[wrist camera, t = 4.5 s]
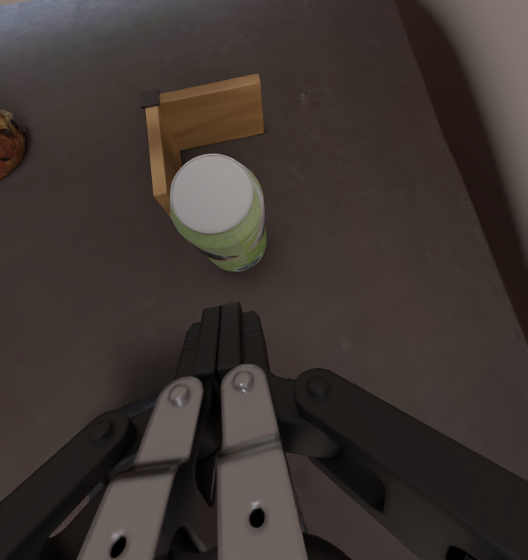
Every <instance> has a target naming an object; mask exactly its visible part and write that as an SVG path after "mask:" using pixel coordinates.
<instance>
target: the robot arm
mask: <svg viewBox="0 0 528 560" xmlns="http://www.w3.org/2000/svg"><path fill="white" fill-rule="evenodd" d="M285 452H287V453H293V454H299V455H305V456H307V457H308V458H309V460H310V461H311V462H312V463H313V464H314V465H315V466H317V467H318V468H319V469H320V470H321V471H322V472H323V473H324V474H325V475H327V476H328V477H329V478H330V479H331V480H332V481H333V482H334V483H336V484H337V485H338V486H339V487H340V488H341V489H342V490H343V491H345V492H346V493H347V494H348V495H349V496H350V497H351V498H352V499H353V500H355V501H356V502H357V503H358V504H359V505H360V506H361V507H362V508H364V509H365V510H366V511H367V512H368V513H369V514H370V515H371V516H373V517H374V518H375V519H376V520H377V521H378V522H379V523H380V524H381V525H383V526H384V527H385V528H386V529H387V530H388V531H389V532H390V533H392V534H393V535H394V536H395V537H396V538H397V539H398V540H399V541H401V542H402V543H403V544H404V545H405V546H406V547H407V548H408V549H409V550H411V551H412V552H413V553H414V554H415V555H416V556H417V557H418V558H420V559H421V560H528V481H526V480H524V479H522V478H521V477H519V476H517V475H515V474H513V473H512V472H510V471H508V470H506V469H505V468H503V467H501V466H499V465H497V464H496V463H494V462H492V461H490V460H488V459H487V458H485V457H483V456H481V455H480V454H478V453H476V452H474V451H472V450H471V449H469V448H467V447H465V446H464V445H462V444H460V443H458V442H456V441H455V440H453V439H451V438H449V437H447V436H446V435H444V434H442V433H440V432H439V431H437V430H435V429H433V428H431V427H430V426H428V425H426V424H424V423H422V422H421V421H419V420H417V419H415V418H414V417H412V416H410V415H408V414H406V413H405V412H403V411H401V410H399V409H397V408H396V407H394V406H392V405H390V404H389V403H387V402H385V401H383V400H381V399H380V398H378V397H376V396H374V395H373V394H371V393H369V392H367V391H365V390H364V389H362V388H360V387H358V386H356V385H355V384H353V383H351V382H349V381H348V380H346V379H344V378H342V377H340V376H339V375H337V374H335V373H333V372H331V371H329V370H326V369H321V368H316V369H310V370H307V371H305V372H303V373H302V374H300V375H299V376H298V377H297V379H296V380H295V379H285V378H280V377H278V376H275V375H274V374H272V373H271V372H270V367H269V361H268V355H267V348H266V343H265V338H264V334H263V330H262V326H261V322H260V318H259V316H258V315H257V314H256V313H255V312H254V311H249V312H244V313H243V312H242V308H241V305H240V302H234V303H229V304H225V305H222V306H221V305H220V306H216V307H211V308H206V309H204V310H203V314H202V319H201V322H197V323H193V324H192V326H191V327H190V328H189V330H188V331H187V332H186V336H185V340H184V344H183V348H182V352H181V356H180V360H179V364H178V367H177V371H176V375H175V379H174V381H173V382H171V383H170V384H168V385H167V386H166V387H165V388H164V389H163V390H162V392H161V393H160V395H159V397H158V399H157V402H156V405H154V406H153V407H151V408H149V409H147V410H145V411H143V412H141V413H139V414H137V415H135V416H133V417H131V418H129V416H128V415H127V413H126V412H124V411H122V410H112V411H108V412H106V413H104V414H102V415H100V416H98V417H97V418H95V419H94V420H93V421H92V422H90V423H89V424H88V425H87V426H86V427H85V428H84V429H83V430H81V431H80V432H79V433H78V434H77V435H76V436H75V437H73V438H72V439H71V440H70V441H69V442H68V443H67V444H66V445H64V446H63V447H62V448H61V449H60V450H59V451H58V452H57V453H55V454H54V455H53V456H52V457H51V458H50V459H49V460H48V461H46V462H45V463H44V464H43V465H42V466H41V467H40V468H38V469H37V470H36V471H35V472H34V473H33V474H32V475H31V476H29V477H28V478H27V479H26V480H25V481H24V482H23V483H22V484H20V485H19V486H18V487H17V488H16V489H15V490H14V491H13V492H11V493H10V494H9V495H8V496H7V497H6V498H5V499H3V500H2V501H1V502H0V560H351V559H350V558H349V557H348V556H347V555H346V554H345V553H343V552H342V551H341V550H340V549H338V548H337V547H335V546H334V545H333V544H331V543H330V542H328V541H326V540H324V539H322V538H320V537H318V536H315V535H312V534H309V533H305V532H304V528H303V523H302V519H301V515H300V511H299V507H298V503H297V499H296V495H295V491H294V486H293V482H292V478H291V474H290V470H289V465H288V461H287V457H286V453H285ZM99 482H101V483H102V484H103V485H104V486H103V487H102V489H101V490H100V491H99V492H98V493H97V494H96V495H95V496H94V497H93V498H92V499H91V501H90V502H89V503H88V504H87V505H86V506H85V507H84V508H83V509H82V510H81V512H80V513H79V514H78V515H77V516H76V517H75V518H74V519H73V520H72V521H71V522H70V524H69V525H68V526H67V527H66V528H65V529H64V530H63V531H62V532H60V533H59V534H57V535H56V536H54V537H51V538H48V537H49V536H50V535H51V534H52V532H53V531H54V530H55V529H56V528H57V527H58V526H59V525H60V524H61V523H62V522H63V521H64V520H65V519H66V517H67V516H68V515H69V514H70V513H71V512H72V511H73V510H74V509H75V508H76V507H77V506H78V505H79V504H80V502H81V501H82V500H83V499H84V498H85V497H86V496H87V495H88V494H89V493H90V492H91V491H92V490H93V489H94V487H95V486H96V485H97V484H98V483H99Z"/></svg>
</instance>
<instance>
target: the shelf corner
mask: <svg viewBox="0 0 528 560" xmlns="http://www.w3.org/2000/svg"><path fill="white" fill-rule="evenodd" d="M139 95H140V107H141V108H142V109H146V120H147V130H148V141H149V152H150V162H151V173H152V183H153V194H154V197H155V198H156V199H157V201H158V202H159V203H160V205H161V206H162V207H163V208H164V210H165V211H166V212H167V213H168V215H169V216H170V217H171V214H170V206H169V201H170V190H171V185H172V182H173V179H174V177H175V175H176V174H177V172H178V171H179V169H180V168H181V167H182V163H181V155H180V151H181V150H186V149H191V148H196V147H200V146H205V145H210V144H215V143H219V142H224V141H229V140H234V139H239V138H243V137H248V136H253V135H258V134H262V133H264V127H263V113H262V99H261V84H260V79H259V75H258V74H253V75H249V76H244V77H239V78H234V79H229V80H225V81H220V82H215V83H210V84H206V85H201V86H196V87H191V88H186V89H182V90H177V91H172V92H167V93H162V94H159V91H158V89H154V90H149V91H144V92H139Z"/></svg>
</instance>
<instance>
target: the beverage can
mask: <svg viewBox="0 0 528 560" xmlns="http://www.w3.org/2000/svg"><path fill="white" fill-rule="evenodd" d="M169 206H170V214H171V218H172V221H173V223H174V225H175V227H176V228H177V230H178V231H179V233H180V234H181V235H182V236H183V237H184V238H185V239H186V240H188V241H189V242H190V243H191V244H192V245H193V246H194V247H196V248H197V249H198V250H199V251H200V252H201V253H203V254H204V255H205V256H206V257H207V258H208V259H210V260H211V261H212V262H213V263H214V264H215V265H217V266H218V267H220V268H221V269H224V270H226V271H231V272H239V271H244V270H247V269H249V268H251V267H253V266H254V265H256V264H257V263H258V262H259V261H260V259H261V258H262V256H263V254H264V252H265V249H266V241H267V240H266V226H265V212H264V199H263V193H262V189H261V186H260V184H259V182H258V180H257V178H256V177H255V176H254V175H253V173H252V172H251V171H250V170H249V169H248V168H246V167H245V166H244V165H242V164H240V163H239V162H237V161H236V160H234V159H233V158H230V157H228V156H225V155H221V154H205V155H201V156H198V157H196V158H193V159H191V160H190V161H188V162H187V163H185V164H184V165H183V166H182V167H181V168H180V169H179V171H178V172H177V174H176V175H175V177H174V179H173V182H172V185H171V190H170V201H169Z"/></svg>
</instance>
